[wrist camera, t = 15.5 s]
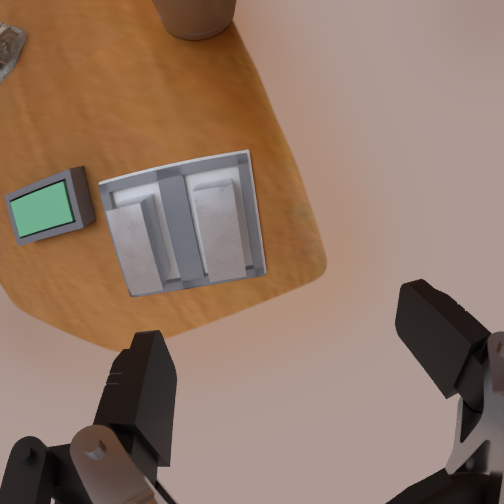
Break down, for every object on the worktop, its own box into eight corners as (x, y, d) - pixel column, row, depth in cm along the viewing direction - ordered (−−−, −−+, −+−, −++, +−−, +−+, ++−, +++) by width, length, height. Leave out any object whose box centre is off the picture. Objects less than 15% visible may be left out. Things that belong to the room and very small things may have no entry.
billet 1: (123, 200, 33) (105, 211, 27) (152, 193, 33) (139, 203, 27) (143, 273, 36) (131, 295, 31) (171, 268, 37) (163, 290, 31)
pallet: (102, 181, 33) (95, 183, 30) (248, 149, 33) (250, 149, 31) (133, 291, 38) (129, 299, 36) (265, 269, 39) (268, 276, 37)
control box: (19, 190, 31) (4, 196, 27) (83, 165, 31) (69, 169, 28) (32, 237, 34) (18, 246, 30) (95, 219, 34) (83, 227, 30)
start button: (16, 199, 29) (10, 202, 27) (68, 179, 29) (63, 181, 28) (25, 233, 31) (19, 237, 29) (77, 217, 31) (72, 221, 30)
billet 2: (211, 260, 37) (210, 282, 31) (197, 183, 33) (192, 191, 28) (242, 256, 37) (246, 276, 31) (230, 178, 33) (232, 184, 28)
